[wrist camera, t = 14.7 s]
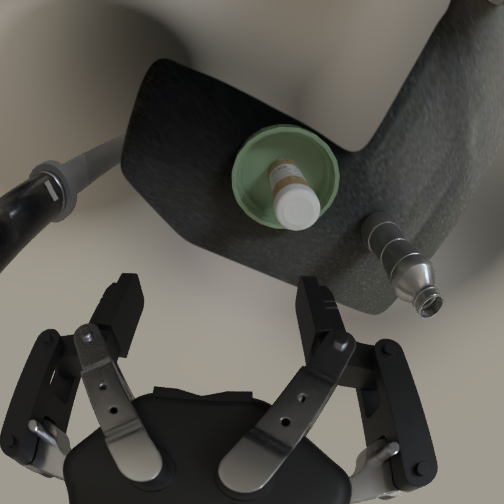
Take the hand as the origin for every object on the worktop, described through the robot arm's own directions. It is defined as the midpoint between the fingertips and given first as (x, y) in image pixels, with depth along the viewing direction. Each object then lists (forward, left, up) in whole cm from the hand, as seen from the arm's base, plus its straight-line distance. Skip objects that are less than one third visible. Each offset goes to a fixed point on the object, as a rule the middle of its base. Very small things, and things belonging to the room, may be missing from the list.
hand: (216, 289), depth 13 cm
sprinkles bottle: (+6, -2, -28) cm, 29 cm away
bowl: (+6, -2, -28) cm, 29 cm away
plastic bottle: (+22, -10, -29) cm, 38 cm away
